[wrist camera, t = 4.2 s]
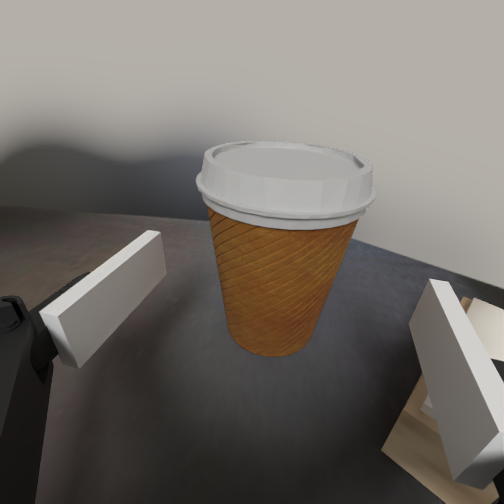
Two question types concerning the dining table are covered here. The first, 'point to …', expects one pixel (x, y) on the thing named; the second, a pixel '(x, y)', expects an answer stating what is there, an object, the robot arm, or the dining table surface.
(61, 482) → the dining table surface
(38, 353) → the robot arm
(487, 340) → the plinth
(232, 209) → the disposable coffee cup
